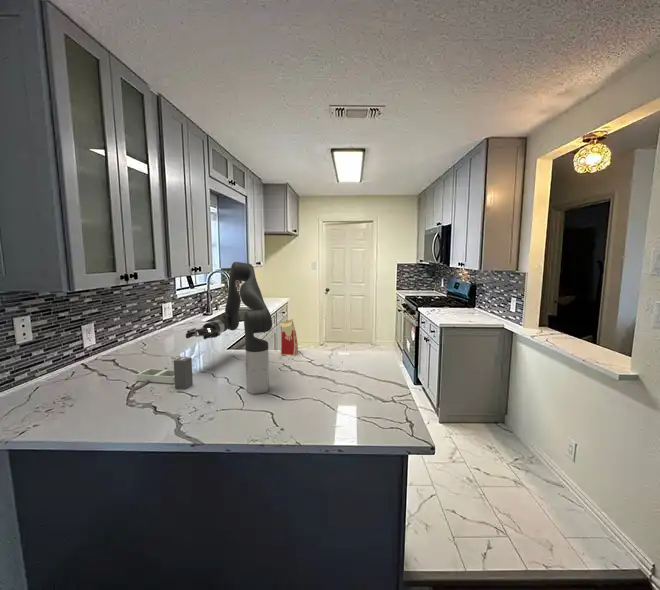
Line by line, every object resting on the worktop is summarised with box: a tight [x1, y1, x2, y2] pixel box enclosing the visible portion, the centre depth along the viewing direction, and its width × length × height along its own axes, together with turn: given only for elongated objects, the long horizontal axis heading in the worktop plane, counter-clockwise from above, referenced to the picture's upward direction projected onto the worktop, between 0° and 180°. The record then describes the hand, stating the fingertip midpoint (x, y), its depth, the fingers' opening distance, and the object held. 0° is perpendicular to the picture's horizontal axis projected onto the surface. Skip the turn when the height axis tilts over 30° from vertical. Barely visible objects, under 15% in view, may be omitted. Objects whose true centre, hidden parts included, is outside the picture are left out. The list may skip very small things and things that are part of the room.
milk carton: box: [280, 318, 299, 357], centre depth 190 cm, size 9×9×20 cm
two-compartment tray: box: [132, 368, 175, 391], centre depth 147 cm, size 17×18×3 cm
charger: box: [173, 356, 194, 390], centre depth 143 cm, size 5×5×12 cm
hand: (195, 336), depth 151 cm, fingers open, 8 cm apart
